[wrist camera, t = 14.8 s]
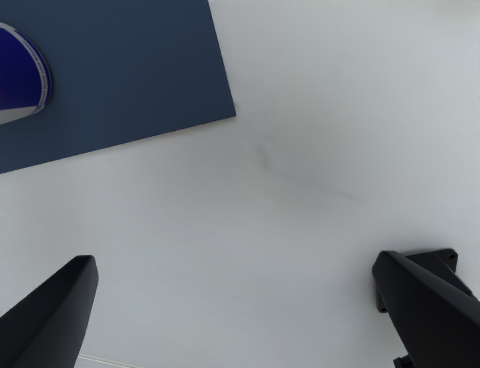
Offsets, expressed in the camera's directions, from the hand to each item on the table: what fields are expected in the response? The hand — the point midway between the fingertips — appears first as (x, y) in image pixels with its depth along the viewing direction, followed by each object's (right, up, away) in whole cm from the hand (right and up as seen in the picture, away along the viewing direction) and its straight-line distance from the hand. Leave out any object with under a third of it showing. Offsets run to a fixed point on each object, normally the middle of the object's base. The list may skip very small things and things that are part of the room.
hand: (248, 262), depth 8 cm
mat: (-12, +10, +8) cm, 17 cm away
